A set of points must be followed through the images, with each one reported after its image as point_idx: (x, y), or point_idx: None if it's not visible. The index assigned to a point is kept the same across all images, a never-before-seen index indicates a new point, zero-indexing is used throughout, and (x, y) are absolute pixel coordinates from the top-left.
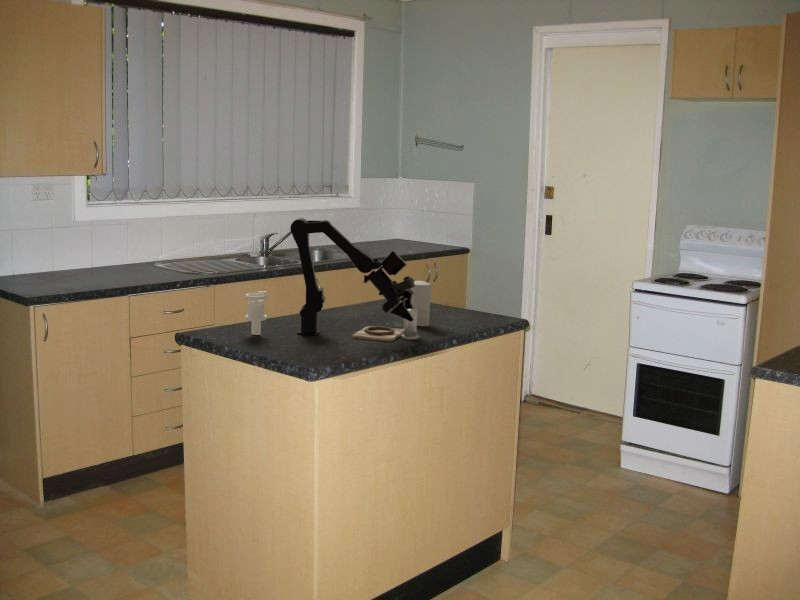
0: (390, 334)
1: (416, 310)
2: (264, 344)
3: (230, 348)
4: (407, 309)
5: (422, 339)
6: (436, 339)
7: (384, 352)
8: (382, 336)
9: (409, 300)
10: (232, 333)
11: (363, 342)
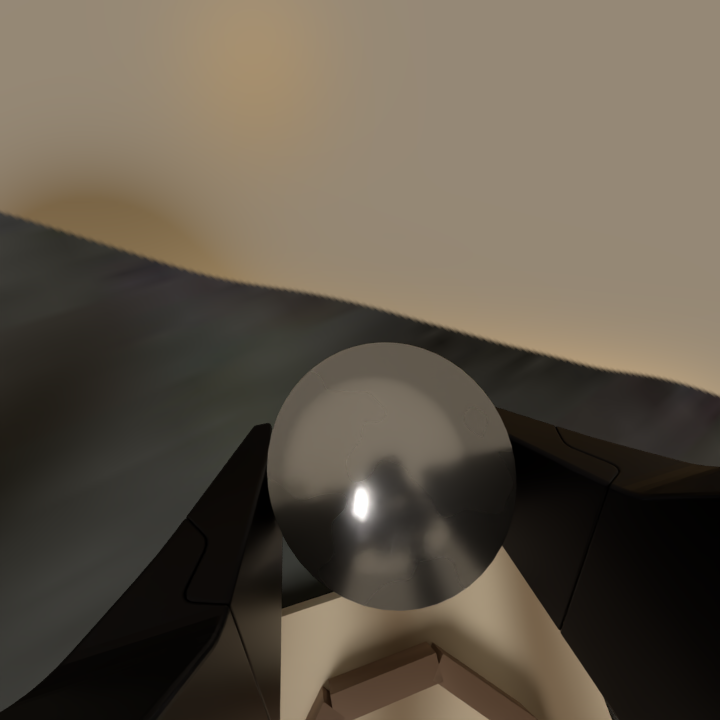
0: (433, 643)
1: (391, 344)
2: None
3: None
4: (457, 502)
5: None
6: (265, 316)
7: (715, 416)
8: (532, 659)
9: (176, 706)
10: None
11: None
